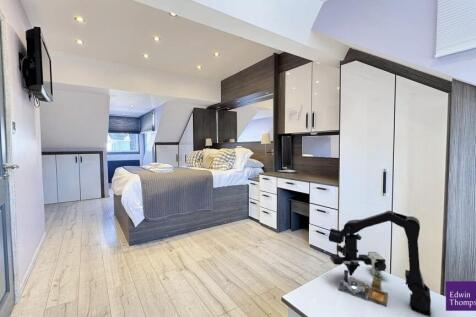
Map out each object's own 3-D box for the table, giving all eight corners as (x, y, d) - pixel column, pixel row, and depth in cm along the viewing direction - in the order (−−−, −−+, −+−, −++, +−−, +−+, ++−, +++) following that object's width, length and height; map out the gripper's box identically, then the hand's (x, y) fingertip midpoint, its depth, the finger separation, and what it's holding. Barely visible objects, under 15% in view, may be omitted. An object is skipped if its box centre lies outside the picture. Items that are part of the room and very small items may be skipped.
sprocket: (346, 276, 121) (346, 265, 120) (371, 287, 112) (371, 274, 112) (336, 286, 113) (336, 273, 112) (362, 298, 104) (363, 284, 103)
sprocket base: (369, 287, 113) (369, 285, 113) (365, 299, 104) (365, 298, 104) (343, 278, 121) (343, 277, 121) (338, 289, 111) (338, 288, 111)
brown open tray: (387, 296, 107) (387, 292, 107) (386, 306, 99) (386, 303, 99) (369, 290, 111) (369, 286, 111) (367, 299, 104) (367, 296, 104)
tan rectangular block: (381, 286, 114) (381, 279, 114) (380, 291, 110) (380, 283, 110) (373, 284, 116) (373, 276, 116) (372, 288, 112) (372, 281, 112)
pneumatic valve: (374, 269, 130) (375, 249, 130) (386, 281, 119) (387, 259, 118) (364, 268, 131) (365, 248, 130) (375, 280, 119) (375, 258, 119)
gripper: (361, 239, 122) (360, 267, 123) (326, 239, 123) (326, 267, 124) (372, 248, 111) (372, 279, 112) (334, 248, 112) (334, 278, 113)
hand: (350, 275), depth 115 cm, fingers closed
